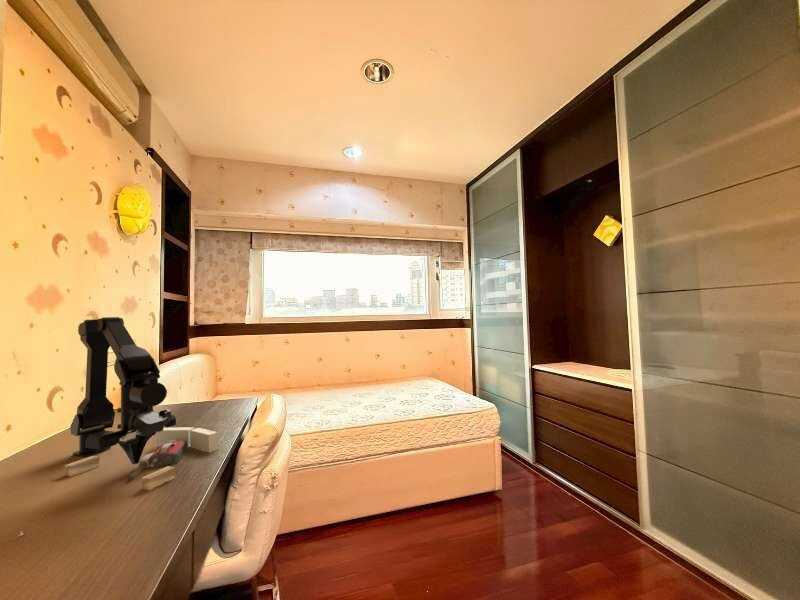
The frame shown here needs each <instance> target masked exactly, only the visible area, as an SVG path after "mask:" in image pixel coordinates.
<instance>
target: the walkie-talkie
mask: <svg viewBox="0 0 800 600" xmlns="http://www.w3.org/2000/svg"><path fill="white" fill-rule="evenodd" d="M187 450H188V447H187V441H186V440H177V441H176V440H174V441H168V442H166V443H164V444H162V445H161V446H160V447H159V446H158V447H157V449H156V450H155V451H154V452H151V453H148V454H146V455H144V457H142V459H140V460H139V462H138V467H137V468H136V469H135V470H134V471H132V473H131V474H130V475H129V479H135V477H136V476H137V475H138V474H139V473H140V472H141V471H142V470H143V469H145V468H144V467H147V468H150V467H152V468H155V467H154V466H156V467H159V466H158V465H162V466H169V465H173V463H175V464H178V462H179V461H180V460H181V458H182V457H183V455H184V454H185V452H187ZM179 459H180V460H179ZM168 464H169V465H168Z"/></svg>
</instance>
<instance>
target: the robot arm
mask: <svg viewBox="0 0 800 600" xmlns="http://www.w3.org/2000/svg"><path fill="white" fill-rule="evenodd" d="M77 331H78V335H79V336H80V337H79V339H80V340H79V341H81V343H82V344H83V345H84V347H86V349H87V350H86V352H87V353H86V371H85V373H86V374H85V377H86V378H85V394H84V398H83V400H82V401H81V402H80V403H79V404H78V406H77V408H76V414H75V415H74V417H73V419H72V422H71V424H70V426H69V430H70V434H71V435H72V436H76V437H78V450H76V451H75V452H72V455H74V456H82V457H90V456H93V455H94V454H98V453H100V452H103V451H106V450H109V449H111V448H112V447H113V446H116V445H117V444H118V445H119V446H120V448H121V449H122V450H123V451H124V453H125V454H126V456H127V457H128V459H129V461H130V462H131V464H132V465H137V464H139V461H140V460H141V457H142V454H143V451H144V450H145V447H146V445H147V443H148V441H149V440H150V439H151V438H152V437H153V436H156V434H157V433H158V431H159V432H160V431H162V430H163V428H172V427H173V426H174V427H175V426H176V425H177V417H176V415H175V414H172V410H170V409H169V408H166V409H163V410H160V411H156V412H155V411H154V407H155V406H158V405H160V404H162V403H163V402H164V401H165V400H166V397H167V394H168V390H167V388H166V387H165V385H164V384H162V383H161V382H159V379H160V378H161V375H160V372H161V371H160V368H159V367H158V365H157V363H156V362H155V358H154V357H153V356H152V355H151V354H150V353H149V352H148V350H147V349H146V348H143V347H140V346H138V345H137V344H136V342H135V341H134V339H133V338H132V336H131V335H130V333H129V331H128V330H127V328H126V326H125V321H124V319H123V318H122V317H119V316H115V317H114V316H109V317H108V316H107V317H106V316H104V317H101V318H96V319H84V320H83V322H80V323H79V324H78V329H77ZM110 348H111V350H112V351H113V354H114V356H115V357H116V358H115V361H114V364H113V369H114V373H115V374H116V376H117V378H118V380H119V385H120V407H118V408H117V411H115V409H114V404H113V402H112V401H110V399H109V398H108V397H107V387H108V386H107V384H108V382H107V381H108V365H109V364H108V359H109V358H108V357H109V349H110ZM116 412H117V413H118V414H119V413H120V423H118V424H117V425H116V426H117V429H118V430H116V431H114V430H107V429H111V428H113V426H114V422H115V416H116V415H115V414H116Z"/></svg>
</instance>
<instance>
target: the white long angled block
mask: <svg viewBox="0 0 800 600" xmlns="http://www.w3.org/2000/svg"><path fill="white" fill-rule="evenodd" d="M157 433H158V448H159V447H160V446H161V445H162V444H164V443H166V442H168V441H174V440H176V441H177V440H186V441H187V448H189V447H190V448H192V449H196V450H198V451H199V450H200V451H202V452H206V453H213V452H215V451H217V450H219V449H218V439H219V437H218V431H214V430H209V429H205V428H201V427H197V428H195V427H192V426H191V427H183V426H182V427H181V426H180V427H168V428H166V427H164V428H163V430H162V431H160V432H159V431H158V432H157Z"/></svg>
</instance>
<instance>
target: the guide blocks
mask: <svg viewBox="0 0 800 600" xmlns="http://www.w3.org/2000/svg"><path fill="white" fill-rule="evenodd" d="M99 467H100V456H97V455H90V456H87V457H86V458H83V459H80V460H77V461H73V462H71V463H68V464H65V465H64V476H67V477H73V476H77V475H79V474H81V473H84V472H88V471H90V470H92V469H95V468H99ZM174 479H176V466H175V467H174V466H169V465H166V467H163V468H161V469H158V470H156V471H153V472H152V473H149V474H148V475H145V476H142V477H141V489H142V490H146V491H152V490H153V488H154V489H155V487H156V488H157V486H158V487H159V486H162V485H163V484H166V483H168V482H170V481H171V480H174ZM165 482H166V483H165Z"/></svg>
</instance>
